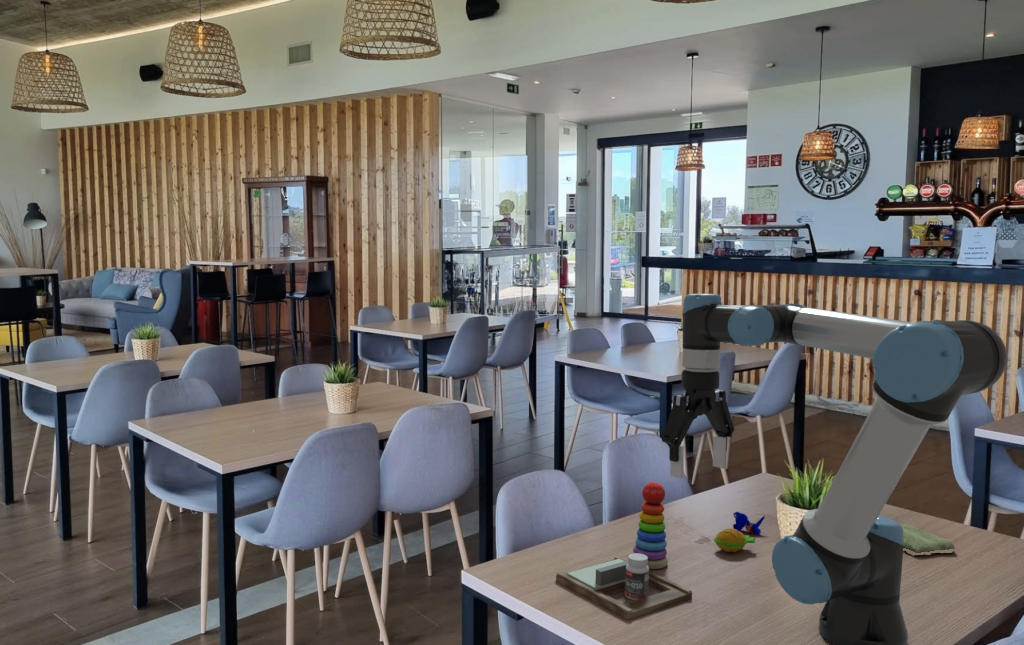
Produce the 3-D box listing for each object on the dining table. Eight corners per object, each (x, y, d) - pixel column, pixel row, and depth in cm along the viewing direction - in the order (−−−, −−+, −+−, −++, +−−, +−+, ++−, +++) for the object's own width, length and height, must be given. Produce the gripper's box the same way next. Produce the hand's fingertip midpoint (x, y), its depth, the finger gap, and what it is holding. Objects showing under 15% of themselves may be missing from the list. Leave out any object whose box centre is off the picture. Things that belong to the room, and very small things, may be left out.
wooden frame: (691, 598, 167) (692, 590, 167) (627, 619, 156) (627, 611, 156) (618, 563, 185) (618, 556, 185) (555, 580, 174) (556, 573, 174)
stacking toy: (667, 572, 180) (670, 489, 179) (631, 568, 182) (634, 486, 180) (667, 559, 188) (671, 479, 186) (633, 555, 190) (635, 476, 188)
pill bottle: (621, 597, 166) (622, 558, 166) (629, 589, 171) (630, 550, 170) (643, 603, 164) (645, 562, 163) (650, 594, 168) (652, 555, 168)
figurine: (733, 527, 211) (734, 509, 211) (763, 532, 208) (765, 514, 208) (730, 532, 207) (731, 513, 207) (760, 538, 204) (762, 519, 203)
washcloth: (905, 530, 212) (906, 518, 212) (958, 555, 195) (959, 542, 195) (862, 534, 209) (863, 522, 209) (912, 560, 192) (913, 546, 192)
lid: (647, 574, 175) (648, 558, 175) (594, 590, 166) (595, 573, 166) (618, 561, 182) (619, 545, 182) (566, 575, 174) (567, 559, 173)
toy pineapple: (707, 548, 196) (708, 526, 195) (742, 543, 199) (743, 522, 199) (724, 558, 189) (725, 536, 189) (760, 553, 193) (761, 531, 192)
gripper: (723, 363, 177) (721, 460, 178) (645, 371, 162) (643, 477, 163) (753, 366, 171) (750, 466, 173) (674, 375, 156) (672, 485, 157)
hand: (698, 472), depth 168 cm, fingers open, 13 cm apart
